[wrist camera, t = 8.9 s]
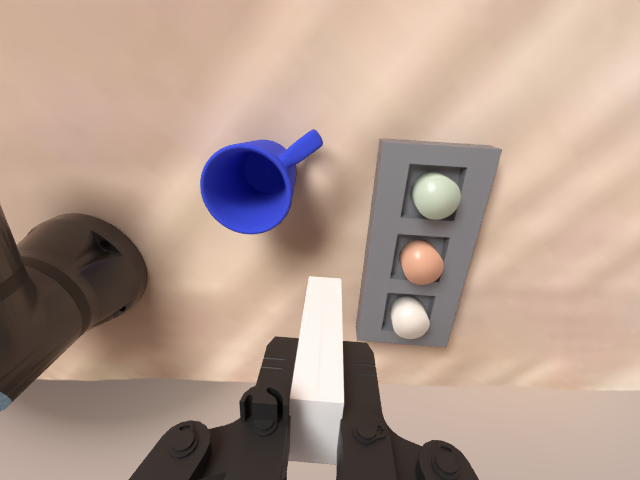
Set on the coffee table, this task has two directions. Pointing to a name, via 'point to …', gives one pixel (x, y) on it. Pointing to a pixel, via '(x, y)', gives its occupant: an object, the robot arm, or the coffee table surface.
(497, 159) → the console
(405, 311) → the button ivory
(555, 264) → the coffee table surface
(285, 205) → the mug
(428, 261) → the button terracotta
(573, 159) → the coffee table surface
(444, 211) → the button sage
